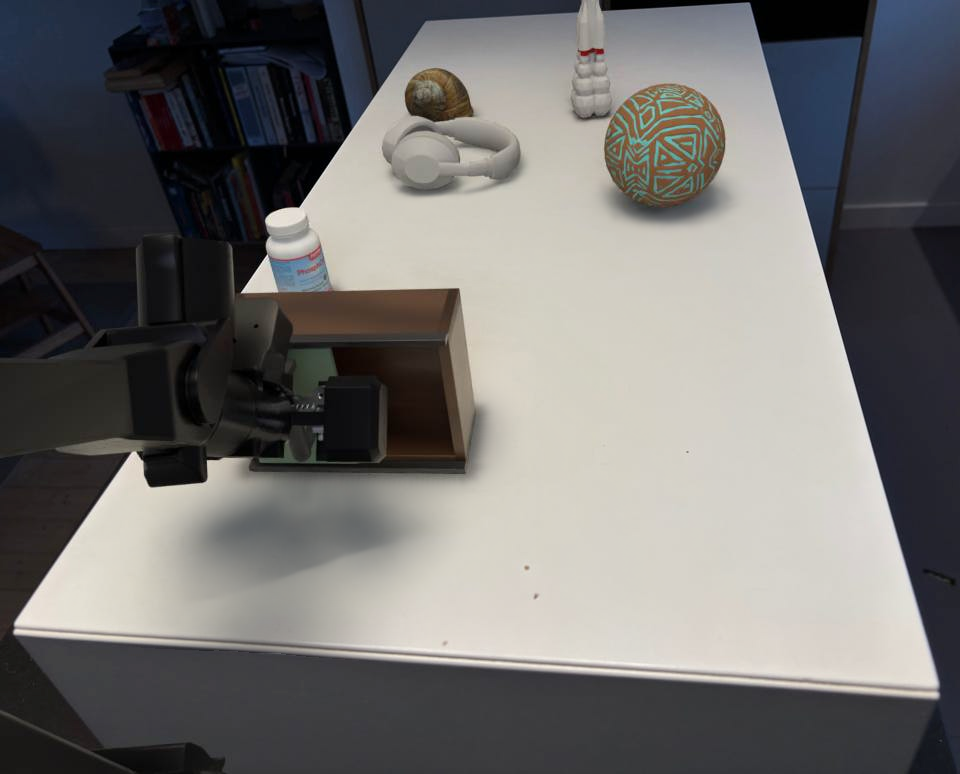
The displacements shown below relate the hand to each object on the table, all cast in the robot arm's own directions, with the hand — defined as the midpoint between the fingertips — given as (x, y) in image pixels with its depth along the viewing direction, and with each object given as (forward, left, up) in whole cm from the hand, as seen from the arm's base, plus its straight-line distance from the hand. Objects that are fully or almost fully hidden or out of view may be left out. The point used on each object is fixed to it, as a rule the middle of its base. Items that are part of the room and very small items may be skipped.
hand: (301, 426), depth 68 cm
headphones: (+63, +17, -7) cm, 66 cm away
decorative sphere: (+60, -15, -7) cm, 62 cm away
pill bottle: (+25, +18, -7) cm, 32 cm away
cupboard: (+7, -1, -7) cm, 10 cm away
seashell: (+82, +29, -7) cm, 87 cm away
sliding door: (0, +1, -6) cm, 6 cm away
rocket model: (+88, +4, -7) cm, 88 cm away
